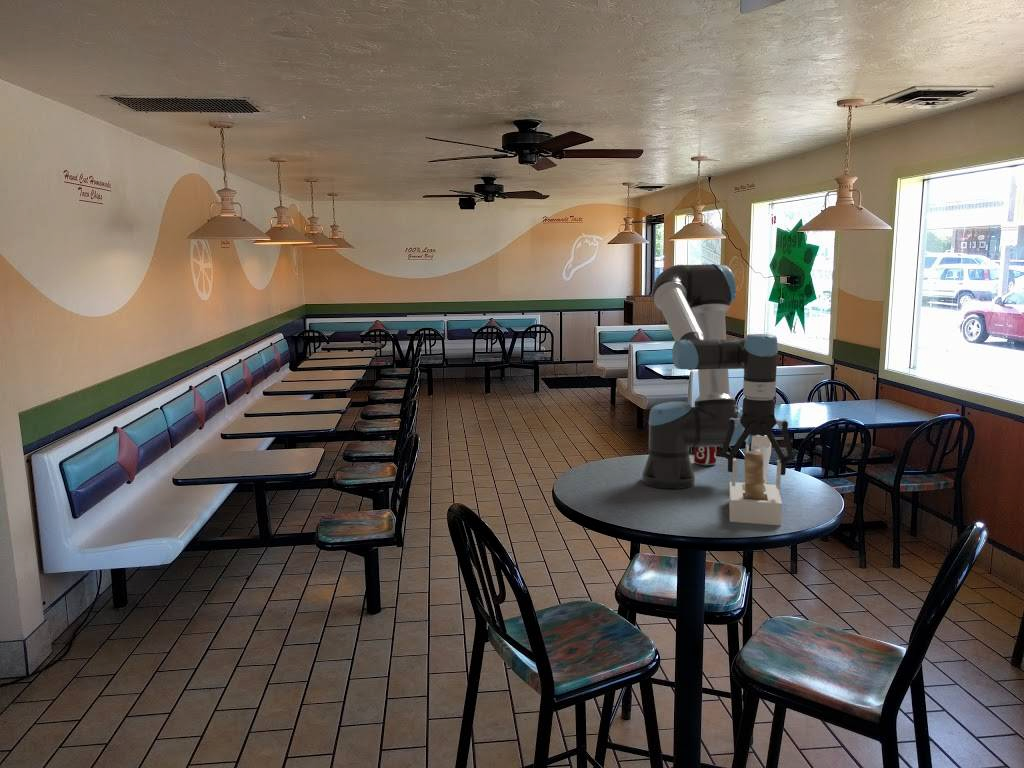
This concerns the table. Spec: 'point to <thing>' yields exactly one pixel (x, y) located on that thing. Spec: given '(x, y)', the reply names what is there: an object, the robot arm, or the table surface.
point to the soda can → (705, 456)
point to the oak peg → (754, 475)
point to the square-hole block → (755, 506)
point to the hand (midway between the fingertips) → (755, 486)
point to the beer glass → (760, 450)
